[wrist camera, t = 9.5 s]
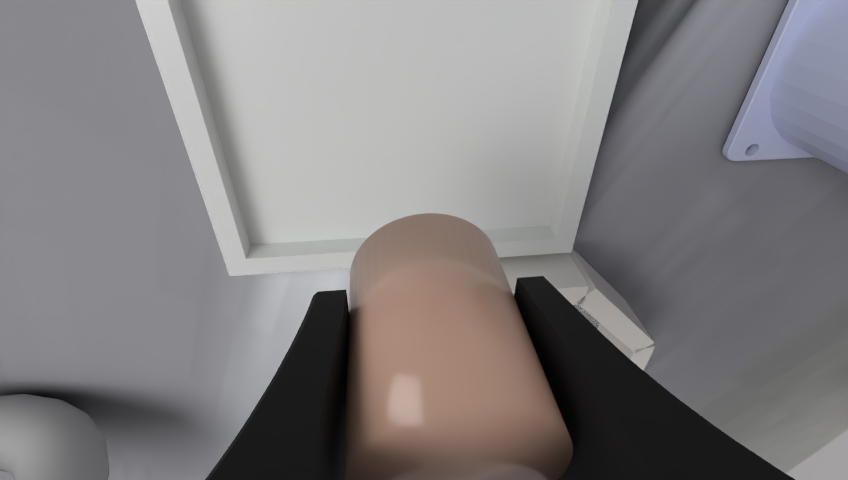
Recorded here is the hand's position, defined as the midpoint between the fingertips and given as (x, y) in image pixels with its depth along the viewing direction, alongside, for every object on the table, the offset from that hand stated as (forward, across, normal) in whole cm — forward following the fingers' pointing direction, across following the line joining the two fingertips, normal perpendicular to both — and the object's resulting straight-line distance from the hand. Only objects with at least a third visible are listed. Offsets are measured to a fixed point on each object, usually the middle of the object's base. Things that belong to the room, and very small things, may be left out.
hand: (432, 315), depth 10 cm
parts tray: (+8, 0, -4) cm, 9 cm away
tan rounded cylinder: (+1, 0, 0) cm, 1 cm away
